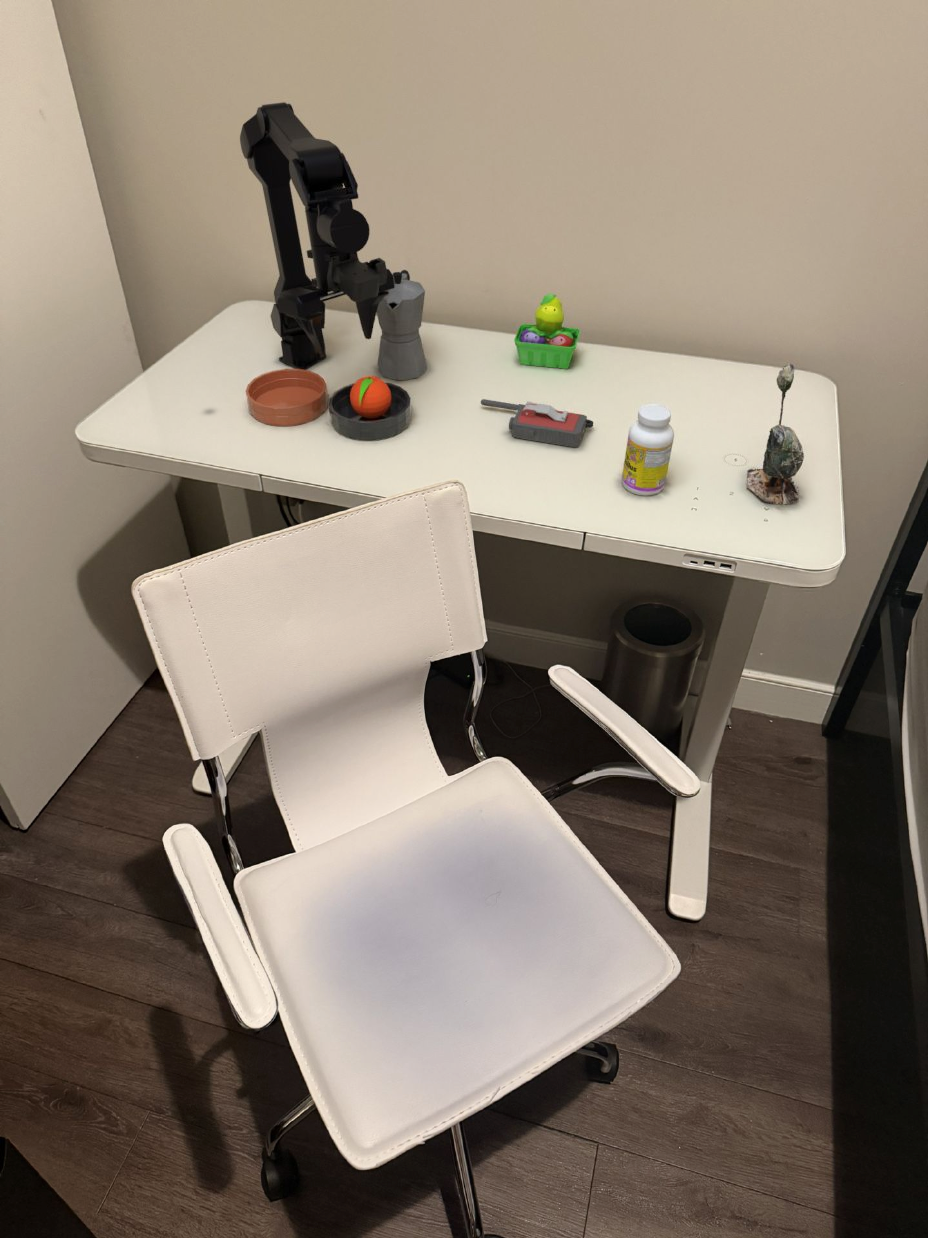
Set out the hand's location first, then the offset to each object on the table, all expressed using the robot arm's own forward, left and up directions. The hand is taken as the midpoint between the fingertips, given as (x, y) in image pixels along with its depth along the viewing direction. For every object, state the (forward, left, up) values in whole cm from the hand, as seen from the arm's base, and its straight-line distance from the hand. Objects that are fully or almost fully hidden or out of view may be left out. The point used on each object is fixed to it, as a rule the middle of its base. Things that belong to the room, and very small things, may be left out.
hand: (345, 346), depth 141 cm
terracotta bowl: (+2, -13, -14) cm, 19 cm away
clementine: (-3, +1, -14) cm, 14 cm away
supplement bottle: (-13, +48, -14) cm, 52 cm away
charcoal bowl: (-3, +1, -14) cm, 15 cm away
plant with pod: (-23, +65, -14) cm, 70 cm away
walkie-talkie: (-17, +25, -14) cm, 33 cm away
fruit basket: (-39, +14, -14) cm, 44 cm away
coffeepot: (-21, -6, -14) cm, 26 cm away
